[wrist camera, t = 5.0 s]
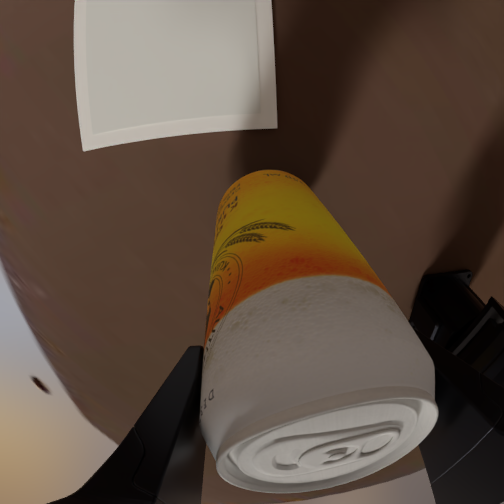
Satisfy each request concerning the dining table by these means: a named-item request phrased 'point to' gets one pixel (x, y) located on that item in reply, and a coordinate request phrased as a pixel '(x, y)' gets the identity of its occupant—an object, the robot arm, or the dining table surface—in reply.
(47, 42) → the dining table surface
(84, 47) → the coaster
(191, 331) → the dining table surface
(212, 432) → the beer can
